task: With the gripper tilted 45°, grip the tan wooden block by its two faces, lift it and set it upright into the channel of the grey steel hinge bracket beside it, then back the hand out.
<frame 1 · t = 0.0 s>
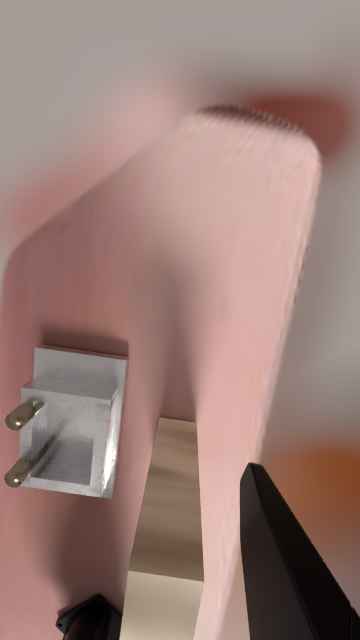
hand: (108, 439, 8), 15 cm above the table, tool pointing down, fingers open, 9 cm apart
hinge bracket: (79, 420, 25), on the table
tan wooden block: (174, 441, 25), on the table
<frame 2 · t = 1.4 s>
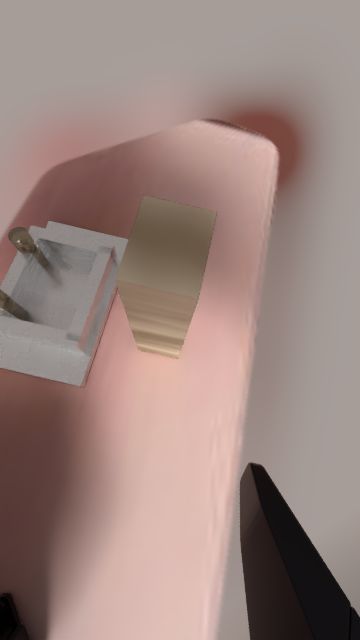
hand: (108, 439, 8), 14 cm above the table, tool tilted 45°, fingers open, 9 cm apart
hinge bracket: (66, 299, 24), on the table
tan wooden block: (164, 330, 24), on the table
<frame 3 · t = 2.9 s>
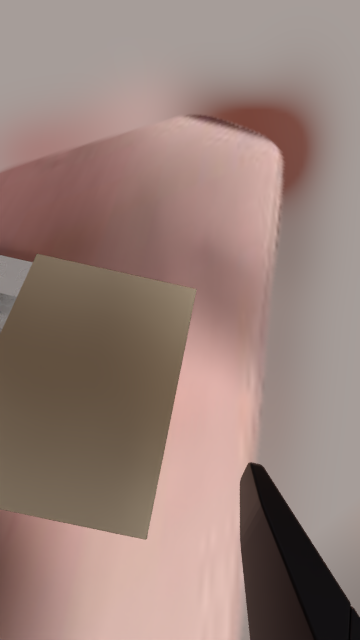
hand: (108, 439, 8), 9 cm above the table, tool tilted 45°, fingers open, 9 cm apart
tan wooden block: (134, 403, 17), on the table
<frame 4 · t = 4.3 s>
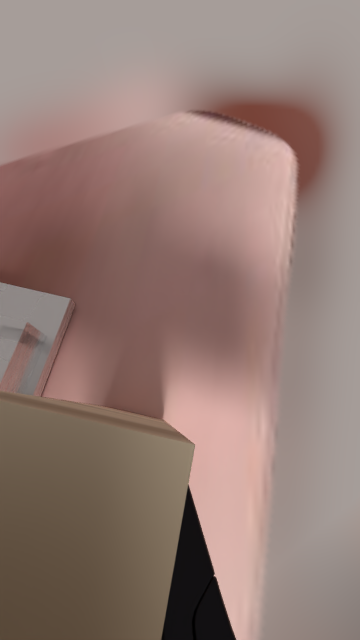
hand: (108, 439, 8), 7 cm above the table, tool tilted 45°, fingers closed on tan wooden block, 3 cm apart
tan wooden block: (121, 456, 14), on the table, touching gripper
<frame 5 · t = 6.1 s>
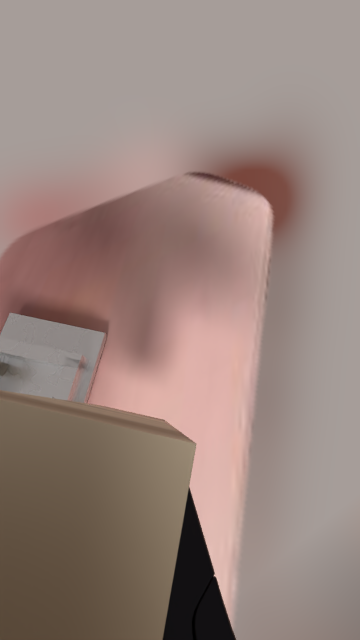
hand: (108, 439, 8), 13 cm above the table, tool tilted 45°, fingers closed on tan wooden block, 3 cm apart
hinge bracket: (30, 410, 21), on the table
tan wooden block: (122, 456, 14), point 7 cm above the table, touching gripper
when the fingers open (9 cm above the table, at t = 8.1 s): tan wooden block drops 1 cm, resting on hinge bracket.
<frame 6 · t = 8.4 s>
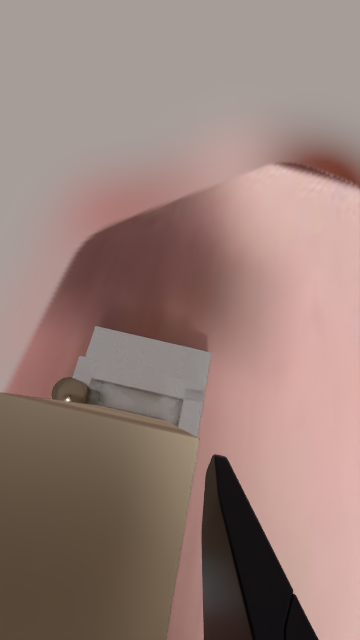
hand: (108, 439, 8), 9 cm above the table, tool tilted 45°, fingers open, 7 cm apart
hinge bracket: (126, 450, 17), on the table
tan wooden block: (125, 453, 16), point 1 cm above the table, touching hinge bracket
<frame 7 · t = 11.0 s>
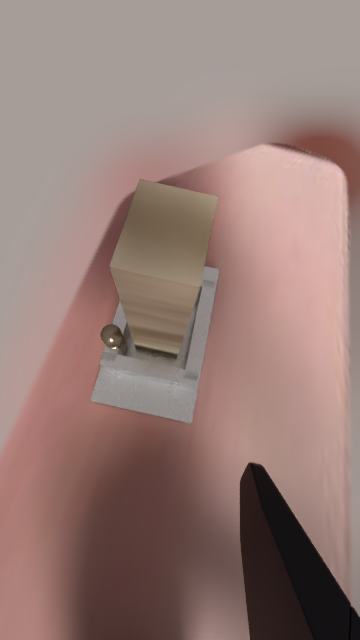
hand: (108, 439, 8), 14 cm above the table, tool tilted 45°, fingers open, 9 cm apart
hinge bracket: (161, 331, 24), on the table
tan wooden block: (162, 328, 23), point 1 cm above the table, touching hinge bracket
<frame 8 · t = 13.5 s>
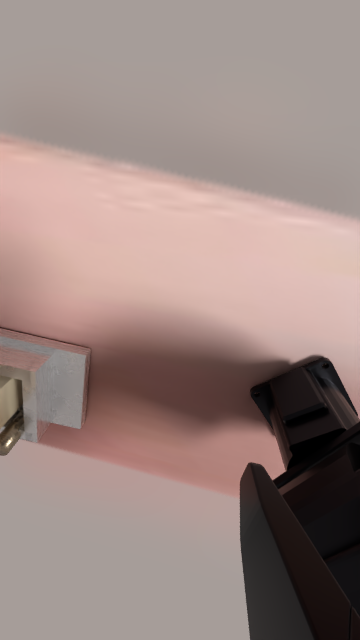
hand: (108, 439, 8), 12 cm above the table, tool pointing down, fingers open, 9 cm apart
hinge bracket: (8, 369, 23), on the table
tan wooden block: (0, 375, 22), point 1 cm above the table, touching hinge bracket
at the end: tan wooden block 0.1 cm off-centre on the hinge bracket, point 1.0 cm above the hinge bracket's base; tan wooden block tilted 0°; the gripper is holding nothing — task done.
